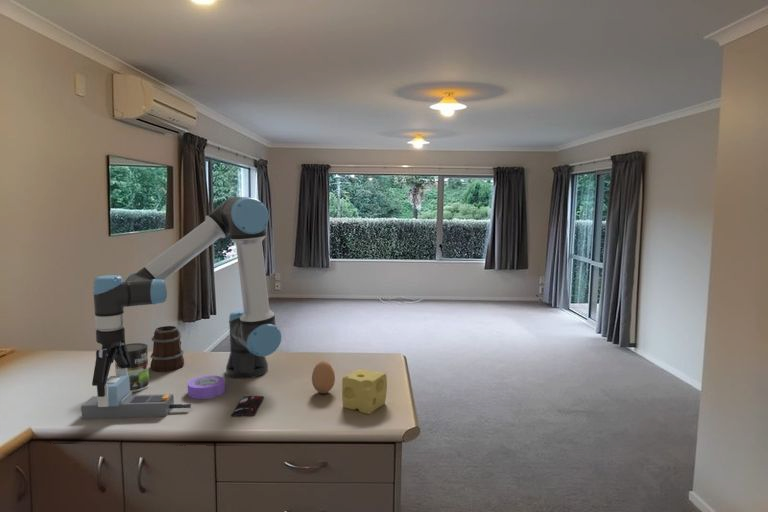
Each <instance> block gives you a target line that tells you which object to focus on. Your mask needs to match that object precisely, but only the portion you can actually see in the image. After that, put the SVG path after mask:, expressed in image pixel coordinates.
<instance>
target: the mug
mask: <svg viewBox="0 0 768 512" xmlns="http://www.w3.org/2000/svg"><path fill="white" fill-rule="evenodd" d="M181 338H182V334H181V331H180V330H179V329H178V326H176V325H175V326H174V325H165V326H159V327H156V328H155V329H154V332H153V336H152V337H151V341H152V342H153V344H152V345H153V346H152V353H151V354H150V359H151V361H150V364H149V365H150V370H153V371H155V372H170V371H175V370H179V369H180V368H183V367H184V366H185V358H184V356H183V355H184V353H185V352H184V350H183V349H182V346H181V344H182V340H181Z"/></svg>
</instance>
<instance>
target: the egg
mask: <svg viewBox="0 0 768 512" xmlns="http://www.w3.org/2000/svg"><path fill="white" fill-rule="evenodd" d="M335 382H336V375H335V370H334V368H333V366H332V365H331V364H330V362H328V361H325V360H322V361H319V362H317V364H315V367H314V369H313V370H312V374H311V384H312V386H313V388H314V389H315V391H317V392H318V393H320V394H326V393H328V392H329V393H330V391H331V390H332V389H333V387H334V386H335V385H334V384H335Z"/></svg>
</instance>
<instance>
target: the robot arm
mask: <svg viewBox="0 0 768 512" xmlns="http://www.w3.org/2000/svg"><path fill="white" fill-rule="evenodd" d="M269 217H270V216H269V210H268V209H267V207H266V205H265V204H264V203H263V202H262V201H261V200H259V199H257V198H255V197H250V196H235V197H234V196H233V197H230V198H228V199H226V200H225V201H223V202H222V203H221V204H220V205H219V206H216V208H214V209H213V210H212V211H211V212H210V213H208V214H207V215H206V216H205V220H204V221H203V222H202V223H200V224H199V225H198V226H196V227H195V228H193V229H192V230H191V231H190V232H188V233H187V234H185V235H184V236H183V237H182V238H181V239H179V240H178V241H176V243H174V244H173V245H171V246H170V247H168V248H167V249H166V250H164V251H163V252H162V253H161V254H160V255H158V256H156V257H155V258H154V259H152V260H151V261H150V262H149V263H147V264H146V265H145V266H144V267H142V268H141V269H139V270H138V271H137V272H134V273H131V274H129V275H128V276H127V277H126V278H125V280H123V277H122V276H121V275H119V274H117V275H116V274H115V275H113V274H112V275H110V274H108V275H101V276H100V275H99V276H97V277H95V278H94V280H93V303H94V318H93V321H95V329H96V331H95V340H96V342H97V343H98V344H100V345H101V349H97V350H96V351H95V365H94V369H93V375H92V376H93V377H92V382H91V386H92V387H94V386H95V387H96V396H97V399H98V407H108V406H109V397H108V384H106V382H107V378H109V373H110V370H111V365H112V364H113V363H115V361H116V363H117V365H118V366H119V368H118V369H117V372H118V376H128V371H127V367H131V364H130V362H131V361H130V358H129V354H128V351H127V348H126V345H125V344H126V331H125V327H124V326H125V324H126V323H125V312H124V310H125V309H124V308H126V307H135V306H138V307H139V306H148V305H157V304H164V303H165V302H166V300H167V296H168V295H167V294H168V291H167V290H168V289H167V284H166V280H167V279H169V278H170V277H172V276H173V275H174V274H175V273H177V272H178V271H180V269H182V268H183V267H184V266H186V265H187V264H188V263H189V262H190V261H191V260H193V259H194V258H196V257H197V256H198V255H200V254H201V253H202V252H203V251H205V250H206V249H207V248H209V247H210V246H211V245H212V244H214V243H215V242H217V240H219V239H225V238H226V237H228V236H230V237H229V238H230V240H231V241H232V242H233V243H234V244H235V247H236V248H235V249H236V256H237V265H238V274H239V282H240V291H241V299H242V308H243V309H242V310H235V311H232V312H231V313H230V314H229V317H228V318H229V319H228V325H229V345H230V346H229V348H230V349H229V350H230V352H229V356H228V358H227V362H226V366H225V374H226V375H227V376H228V377H231V378H235V379H247V378H249V379H250V378H256V377H259V376H262V375H264V374H266V373H267V372H268V371H269V362H268V361H267V358H266V357H268V356H271V354H273V353H274V352H276V350H278V348H279V347H280V344H281V342H282V333H281V330H280V329H279V327H278V326H277V325H276V318H275V317H276V316H275V313H274V311H273V310H271V309H270V304H269V302H270V301H269V296H268V295H269V294H268V285H267V274H266V266H265V265H266V264H265V258H264V249H263V241H264V240H265V238H266V237H267V232H266V227H267V226H268V223H269V219H270V218H269Z"/></svg>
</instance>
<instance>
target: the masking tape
mask: <svg viewBox="0 0 768 512" xmlns="http://www.w3.org/2000/svg"><path fill="white" fill-rule="evenodd" d="M225 383H226V382H225V378H224V377H222V376H219V375H205V376H198V377H196V378H193V379H191V380H189V381H188V382H187V396H188V397H190V398H193V399H197V400H199V399H200V400H203V399H204V400H205V399H211V398H215V397H219V396H221V395H222V394H223V393H225V391H226V388H225V386H226V385H225Z"/></svg>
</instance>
